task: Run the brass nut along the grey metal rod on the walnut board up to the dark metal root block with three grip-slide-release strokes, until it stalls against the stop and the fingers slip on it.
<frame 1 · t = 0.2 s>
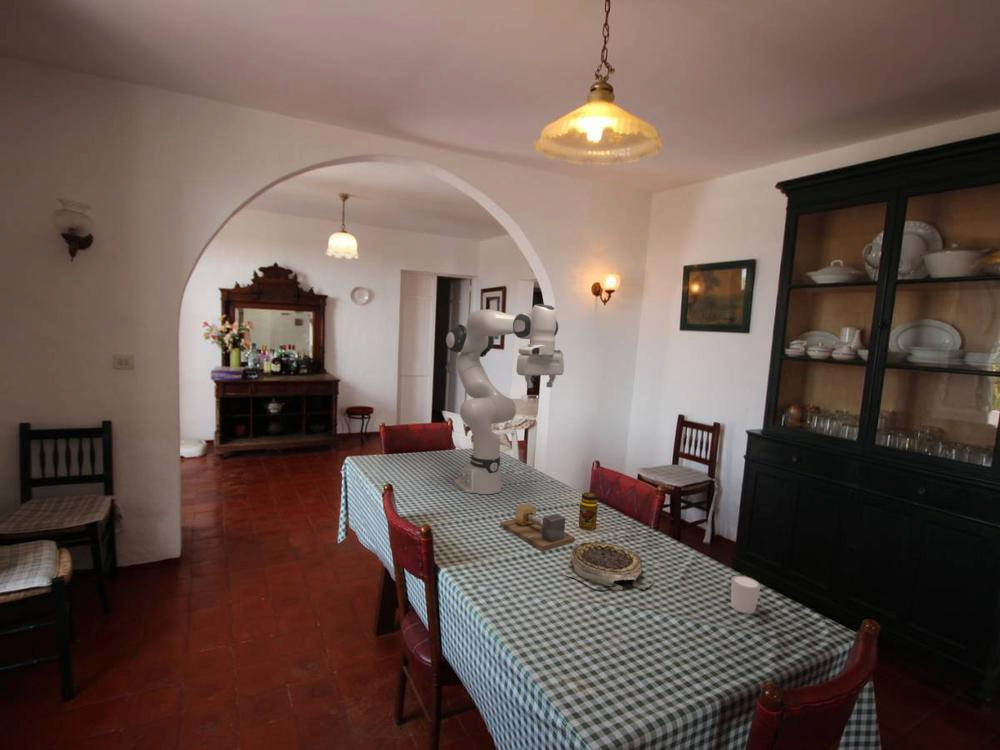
hand: (539, 387, 183), 47 cm above the table, tool pointing down, fingers open, 8 cm apart
white cup: (743, 608, 130), on the table
nut: (525, 514, 173), point 5 cm above the table, slide at 0.0 cm
pie: (606, 570, 147), on the table
rod board: (536, 533, 169), on the table
condiment: (586, 527, 178), on the table
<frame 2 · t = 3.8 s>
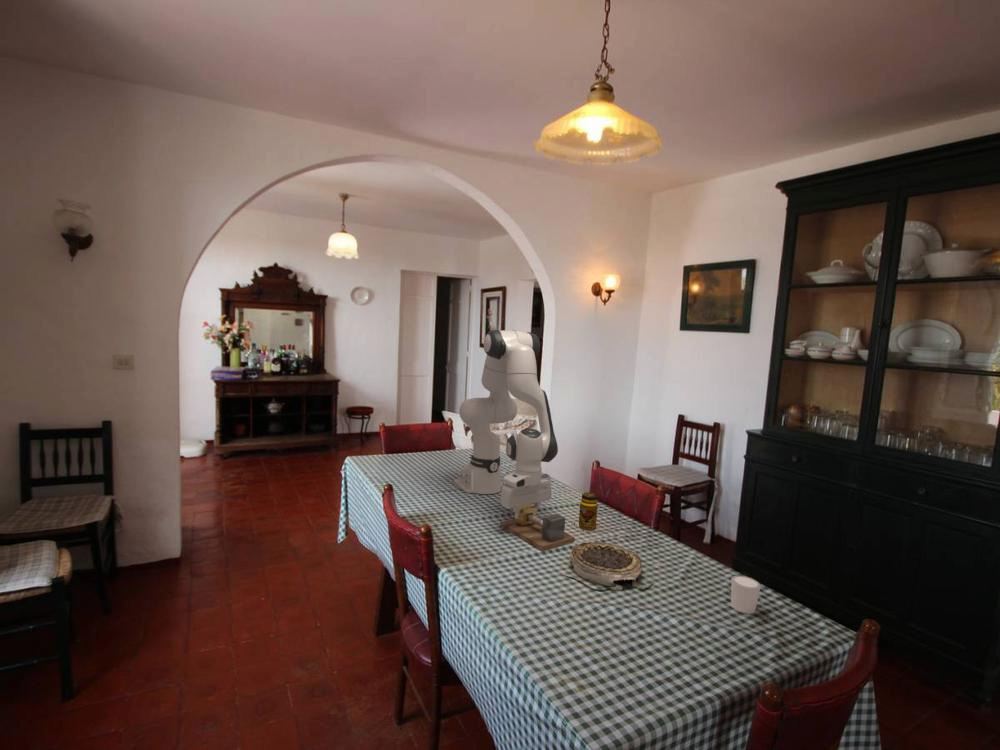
hand: (525, 516, 173), 4 cm above the table, tool pointing down, fingers closed on nut, 6 cm apart
nut: (525, 514, 173), point 5 cm above the table, slide at 0.0 cm, touching gripper
everything else where it was.
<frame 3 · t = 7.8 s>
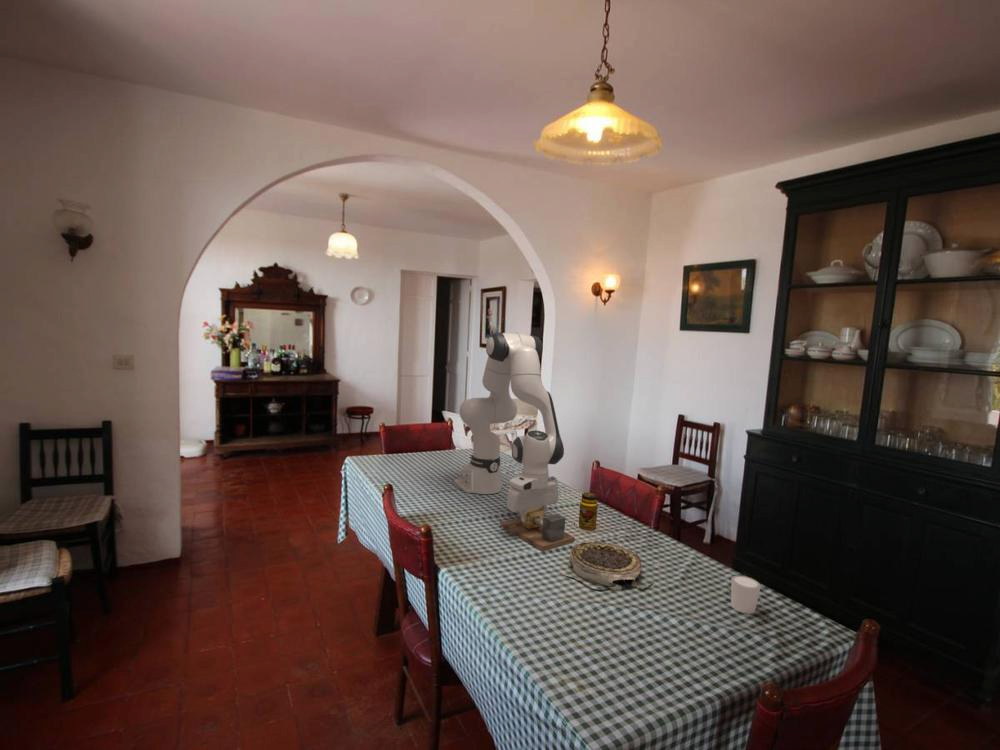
hand: (532, 519, 171), 4 cm above the table, tool pointing down, fingers closed on nut, 6 cm apart
nut: (532, 517, 171), point 5 cm above the table, slide at 3.6 cm, touching gripper
everything else where it was.
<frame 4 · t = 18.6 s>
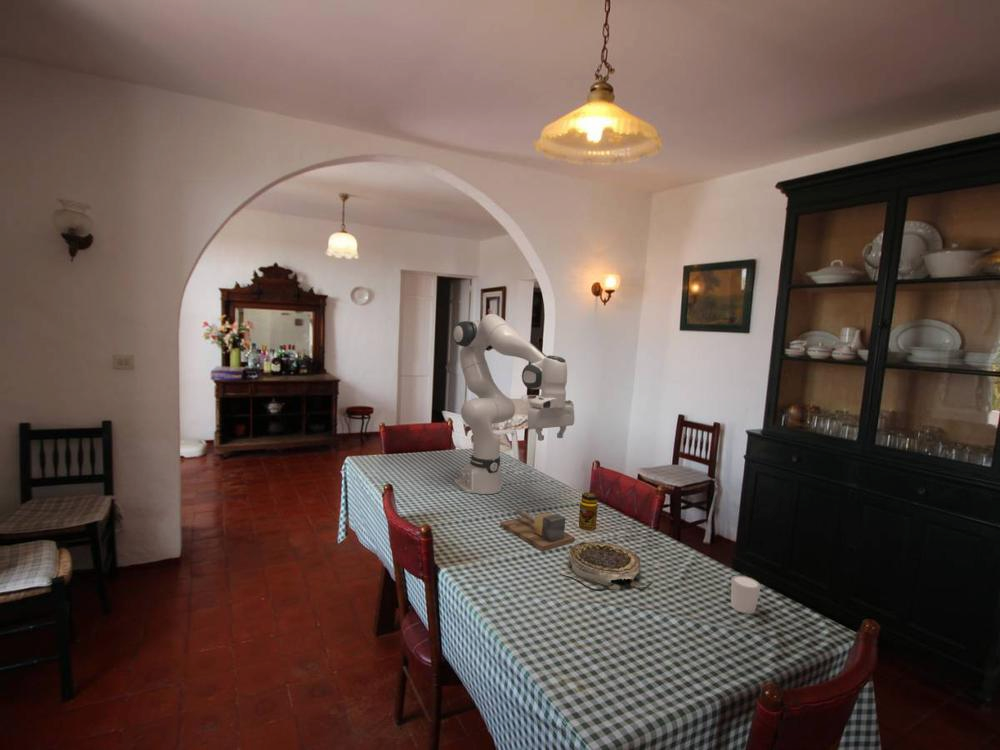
hand: (550, 439, 182), 29 cm above the table, tool pointing down, fingers open, 8 cm apart
nut: (544, 524, 166), point 5 cm above the table, slide at 9.7 cm
everything else where it was.
at the end: nut slide at 9.7 cm; the gripper is holding nothing; condiment moved 0.3 cm from its start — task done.
